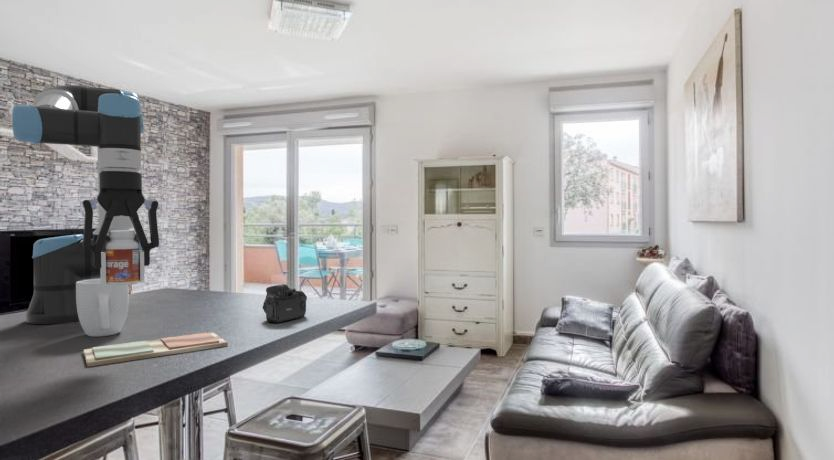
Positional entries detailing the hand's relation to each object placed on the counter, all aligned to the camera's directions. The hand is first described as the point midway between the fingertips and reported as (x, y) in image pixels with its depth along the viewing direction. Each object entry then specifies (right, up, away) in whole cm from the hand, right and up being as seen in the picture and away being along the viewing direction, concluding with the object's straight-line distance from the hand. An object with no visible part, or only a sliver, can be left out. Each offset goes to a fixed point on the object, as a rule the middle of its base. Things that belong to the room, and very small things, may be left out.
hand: (122, 282), depth 105 cm
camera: (+24, -14, +36) cm, 45 cm away
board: (+5, -15, +4) cm, 16 cm away
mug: (-15, -15, +18) cm, 27 cm away
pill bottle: (0, -1, 0) cm, 1 cm away
